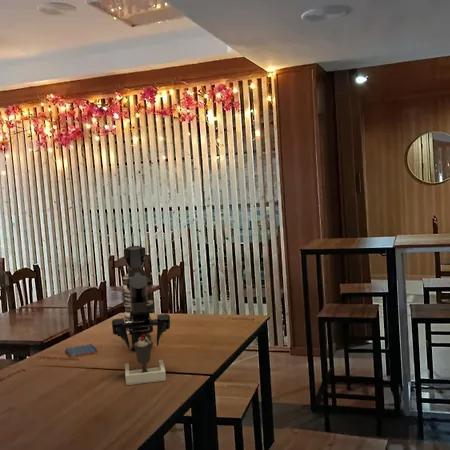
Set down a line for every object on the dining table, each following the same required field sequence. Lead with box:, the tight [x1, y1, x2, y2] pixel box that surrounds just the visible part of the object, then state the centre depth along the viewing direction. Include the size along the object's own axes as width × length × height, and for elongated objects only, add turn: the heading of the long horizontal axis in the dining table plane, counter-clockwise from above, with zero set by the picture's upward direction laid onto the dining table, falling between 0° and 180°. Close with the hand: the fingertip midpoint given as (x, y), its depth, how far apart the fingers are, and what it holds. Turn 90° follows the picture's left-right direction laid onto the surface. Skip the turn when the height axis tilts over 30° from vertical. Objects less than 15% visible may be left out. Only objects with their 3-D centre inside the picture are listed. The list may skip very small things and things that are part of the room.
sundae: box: [131, 330, 154, 373], centre depth 184 cm, size 7×7×15 cm
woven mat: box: [64, 343, 99, 359], centre depth 216 cm, size 10×11×2 cm
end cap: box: [124, 359, 167, 386], centre depth 184 cm, size 12×12×3 cm
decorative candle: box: [121, 273, 132, 335], centre depth 243 cm, size 9×9×25 cm
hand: (143, 346), depth 182 cm, fingers open, 9 cm apart
